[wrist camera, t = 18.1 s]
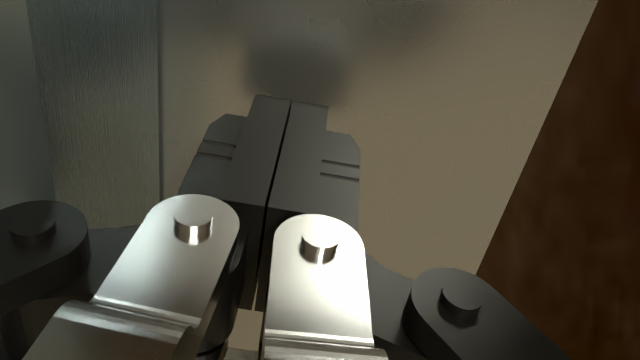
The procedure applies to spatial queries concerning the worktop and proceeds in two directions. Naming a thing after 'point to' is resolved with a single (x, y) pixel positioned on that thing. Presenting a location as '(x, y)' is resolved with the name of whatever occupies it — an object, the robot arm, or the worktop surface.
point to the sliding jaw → (80, 107)
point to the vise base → (379, 104)
